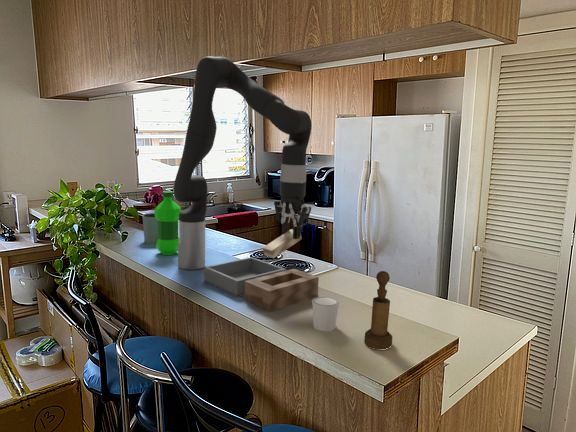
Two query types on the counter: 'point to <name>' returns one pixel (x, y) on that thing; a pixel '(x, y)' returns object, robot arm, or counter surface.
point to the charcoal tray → (238, 274)
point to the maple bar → (280, 244)
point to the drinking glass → (150, 228)
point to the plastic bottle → (167, 224)
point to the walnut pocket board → (281, 289)
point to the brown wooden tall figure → (380, 317)
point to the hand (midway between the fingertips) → (290, 236)
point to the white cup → (325, 313)
